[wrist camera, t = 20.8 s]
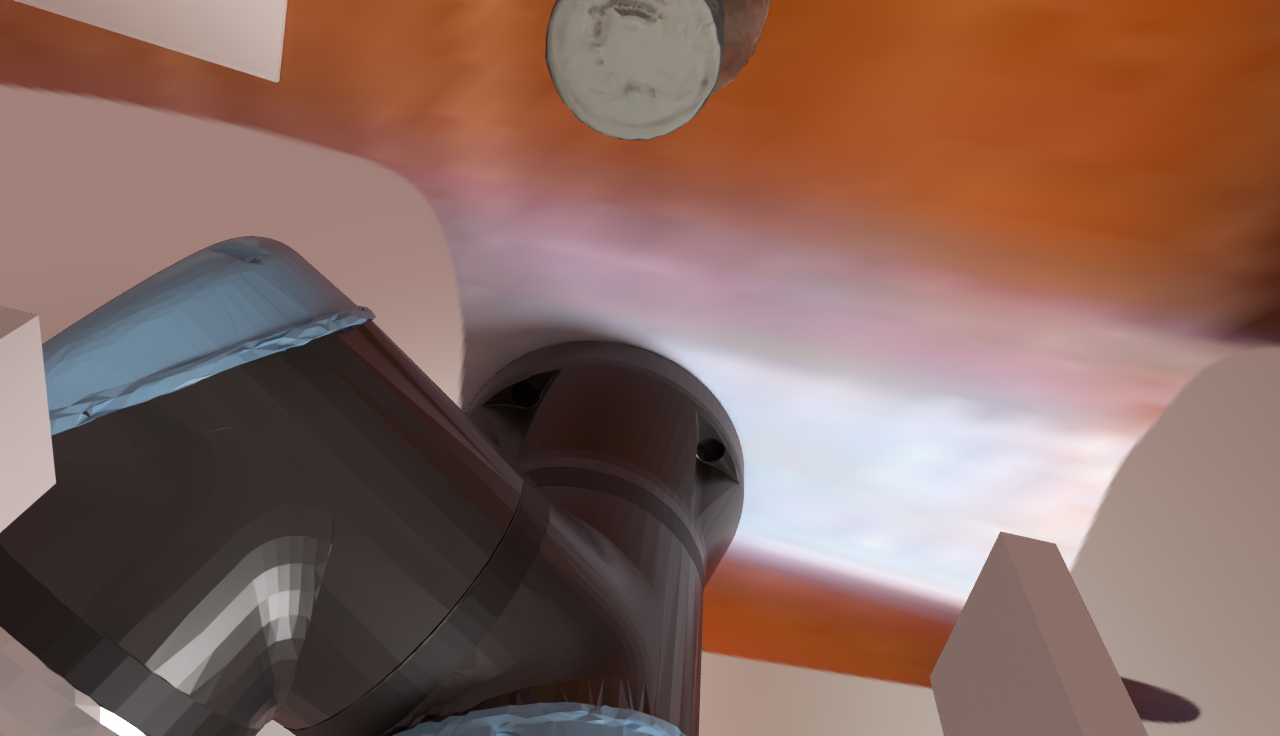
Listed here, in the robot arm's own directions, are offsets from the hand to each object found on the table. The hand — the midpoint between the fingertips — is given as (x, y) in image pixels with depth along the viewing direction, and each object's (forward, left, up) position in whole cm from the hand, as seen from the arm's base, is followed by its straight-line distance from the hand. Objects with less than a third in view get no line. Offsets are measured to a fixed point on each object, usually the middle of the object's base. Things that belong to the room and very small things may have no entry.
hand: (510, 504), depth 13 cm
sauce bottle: (+5, +1, -31) cm, 32 cm away
